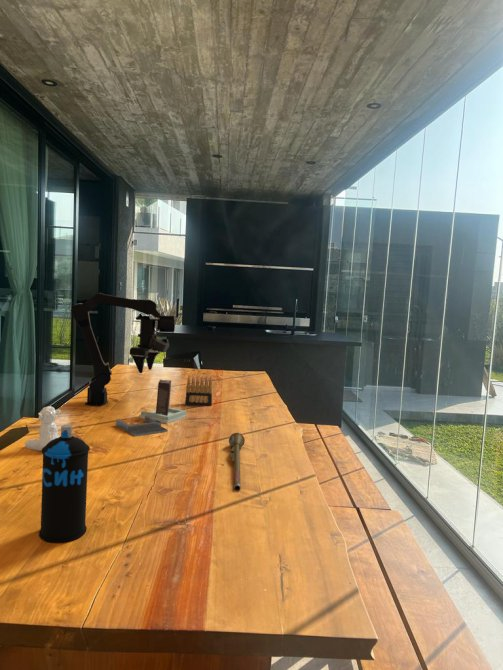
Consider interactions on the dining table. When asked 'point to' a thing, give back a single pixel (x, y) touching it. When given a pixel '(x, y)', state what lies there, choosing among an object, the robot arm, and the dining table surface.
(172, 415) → the tray
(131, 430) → the socket bracket
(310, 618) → the dining table surface
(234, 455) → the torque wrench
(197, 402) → the ammunition clip
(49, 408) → the sitting furry creature
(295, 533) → the dining table surface
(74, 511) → the aerosol can
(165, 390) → the box
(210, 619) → the dining table surface
